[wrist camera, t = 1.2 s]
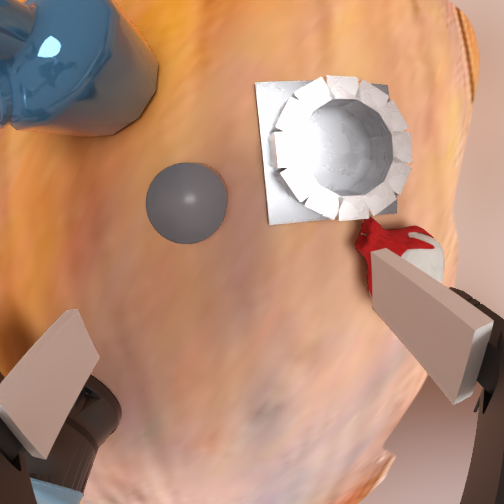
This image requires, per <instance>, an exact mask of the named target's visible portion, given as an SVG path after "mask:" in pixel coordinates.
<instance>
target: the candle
mask: <svg viewBox="0 0 504 504" xmlns="http://www.w3.org/2000/svg"><path fill="white" fill-rule="evenodd" d="M433 238H434V237H433V236H431V235H430V234H429V233H428V232H427V231H425V230H424V229H422V228H420V227H418V226H410V227H406V228H403V229H398V230H397V229H391V230H385V229H383V228H382V227H381V225H380V224H379V223H378V222H377V221H375V220H374V219H373V218H372V217H369V219H364V222H363V223H362V229H361V231H360V233H359V236H358V239H357V241H356V243H355V246H356V249H357V251H358V252H359V253H361V254H362V255H363V256H364V257H365V260H366V262H367V265H368V272H367V275H366V278H367V283H368V290H369V294H370V297H371V299H372V301H373V296H372V265H371V251H376V250H380V249H385V248H387V249H389V250H390V251H392V252H393V253H395V254H397V255H398V256H400V257H401V258H403V259H405V260H406V261H408V262H409V263H411V264H413V265H414V266H416V267H417V268H419V269H420V270H422V271H423V272H425V273H426V274H428V275H429V276H431V277H432V278H434V279H435V280H437V281H438V282H440V283H441V284H442V281H443V273H444V251H443V248H442V246H441V245H440V243H438V242H437V241H436V240H435V239H433Z"/></svg>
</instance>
